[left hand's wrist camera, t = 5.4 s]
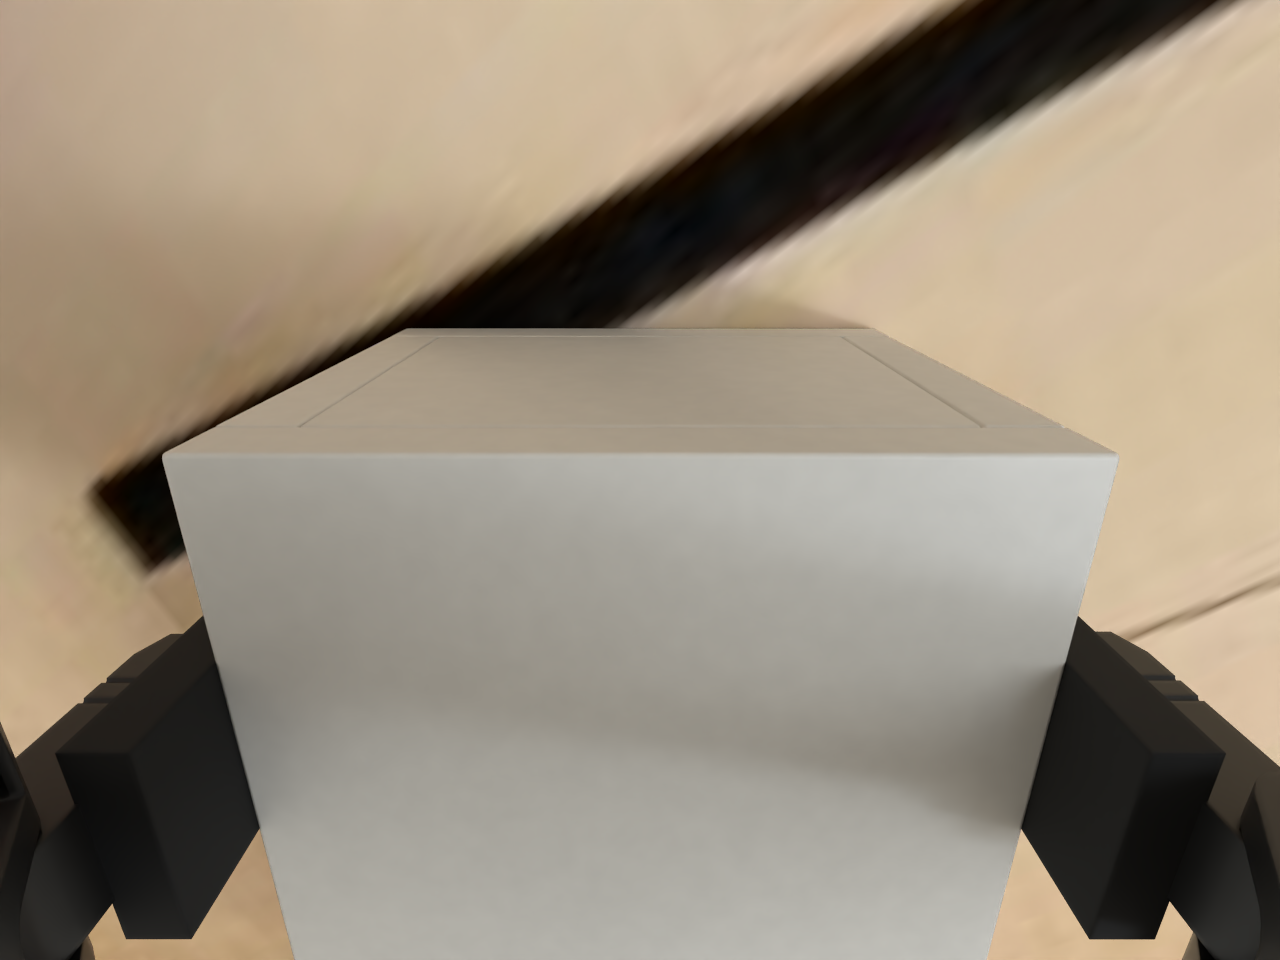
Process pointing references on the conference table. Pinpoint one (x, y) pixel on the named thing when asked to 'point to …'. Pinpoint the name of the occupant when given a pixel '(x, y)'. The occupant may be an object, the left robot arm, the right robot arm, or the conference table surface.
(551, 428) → the cabinet
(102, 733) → the left robot arm
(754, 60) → the conference table surface
